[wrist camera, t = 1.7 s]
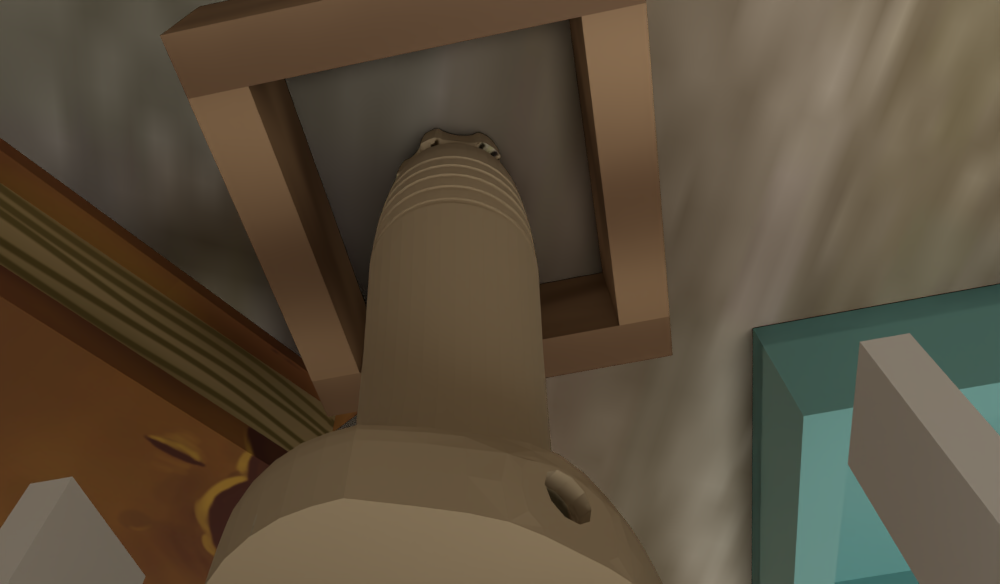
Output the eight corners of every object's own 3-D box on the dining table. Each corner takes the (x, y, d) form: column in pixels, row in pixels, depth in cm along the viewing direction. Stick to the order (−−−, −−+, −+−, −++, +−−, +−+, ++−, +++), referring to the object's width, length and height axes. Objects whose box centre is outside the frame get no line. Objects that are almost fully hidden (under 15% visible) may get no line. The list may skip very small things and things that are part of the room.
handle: (414, 41, 20) (340, 433, 7) (586, 175, 22) (755, 641, 10) (320, 171, 22) (133, 658, 9) (488, 281, 24) (522, 785, 12)
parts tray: (753, 328, 26) (803, 416, 22) (1223, 243, 25) (1360, 320, 21) (751, 593, 34) (787, 689, 31) (1099, 539, 33) (1180, 630, 30)
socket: (199, 6, 19) (160, 35, 16) (615, -85, 18) (641, -69, 16) (340, 358, 26) (327, 416, 23) (650, 300, 25) (672, 355, 22)
